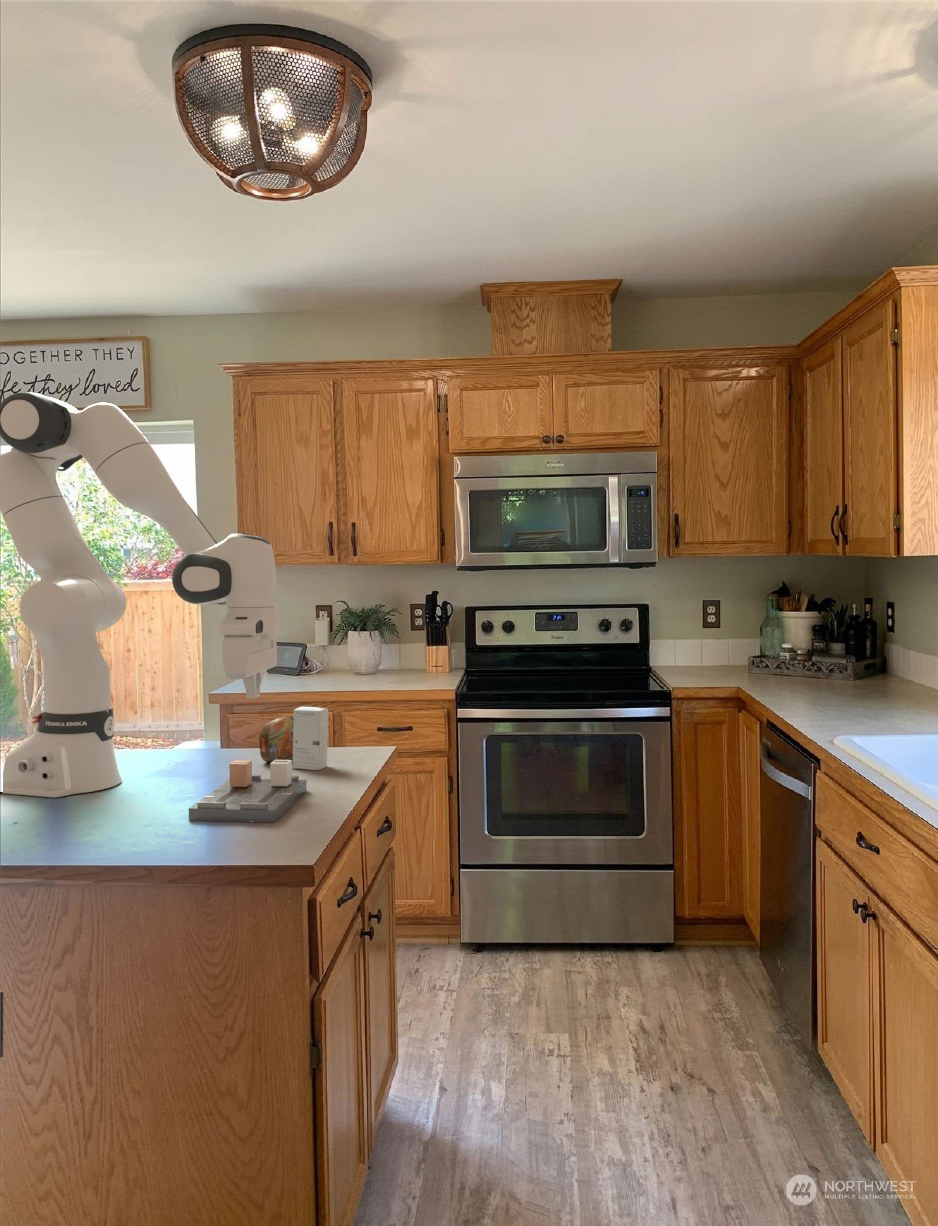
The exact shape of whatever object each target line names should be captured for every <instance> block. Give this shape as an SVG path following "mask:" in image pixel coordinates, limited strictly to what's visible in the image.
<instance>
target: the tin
mask: <svg viewBox="0 0 938 1226" xmlns="http://www.w3.org/2000/svg"><path fill="white" fill-rule="evenodd" d="M293 721H294V716H291V715H290V716H280V717H277V718H275V719H273V720H271V721H269V722H267V723H264V724H263V725H262V727H261V729H260V731H259V735H258V741H259V751H260V753H259V754H260V757H261V759H262V760H263V761H264V762H266V763H272V762H273V761H274V760H286V759H287V758H289V757H290V756H293Z"/></svg>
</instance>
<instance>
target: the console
mask: <svg viewBox="0 0 938 1226" xmlns="http://www.w3.org/2000/svg"><path fill="white" fill-rule="evenodd" d="M306 792H307V779H300V776H299V775H292V782H291V783H290V784H289V785H288V786H270V778H267V779H266V778H262V774H252V783H251V784H250V785H248V786H247V787H231V786H230V779H229V780H227V781H226V782H224V783H223V784H222V785H220V786H218V787H217V788H215V789H214V790H212V792H210V793H209V794H207V795H205V796H204V797H202V798H201V799H200V800H199V801H197V802H196V803H194V804H193V805H191V806H190V807H188V821H189V820H190V821H192V822H193V821H194V822H225V821H245V822H244V823H251V822H250V821H253V822H252V823H265V822H268V823H269V822H271V823H272V822H274V823H275V822H277V820H278V819H280V818H281V817H282V816H283V815H284V813H286V812H287V811H288V808H289V809H290V808H291V807H292V806H293V804H295V803H296V802H297V801H298V800H299V799H300V798H302V796H304V794H305V793H306ZM285 811H286V812H285ZM268 823H267V824H268ZM269 824H270V823H269ZM272 824H273V823H272Z"/></svg>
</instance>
